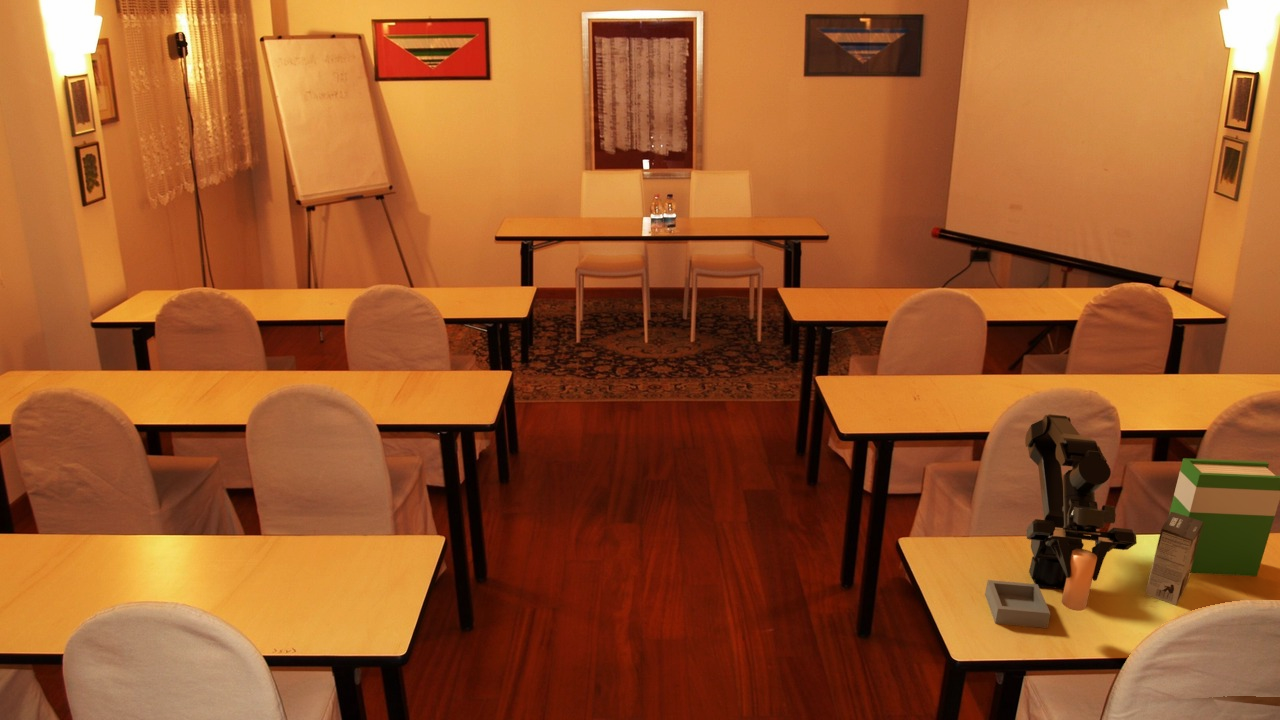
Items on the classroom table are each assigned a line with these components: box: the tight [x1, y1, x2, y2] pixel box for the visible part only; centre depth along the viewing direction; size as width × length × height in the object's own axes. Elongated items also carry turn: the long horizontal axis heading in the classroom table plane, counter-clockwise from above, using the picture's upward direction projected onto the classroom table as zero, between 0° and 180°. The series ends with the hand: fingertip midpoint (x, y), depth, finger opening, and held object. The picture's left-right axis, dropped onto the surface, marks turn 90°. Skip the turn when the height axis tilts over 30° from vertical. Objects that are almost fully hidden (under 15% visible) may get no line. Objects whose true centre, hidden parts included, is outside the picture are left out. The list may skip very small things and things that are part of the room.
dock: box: [984, 579, 1051, 629], centre depth 199 cm, size 10×10×4 cm
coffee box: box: [1145, 512, 1203, 606], centre depth 205 cm, size 9×6×16 cm
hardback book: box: [1168, 457, 1280, 577], centre depth 213 cm, size 18×7×24 cm, turn 87°
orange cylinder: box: [1061, 548, 1097, 612], centre depth 188 cm, size 4×4×11 cm
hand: (1081, 578), depth 187 cm, fingers closed on orange cylinder, 4 cm apart
